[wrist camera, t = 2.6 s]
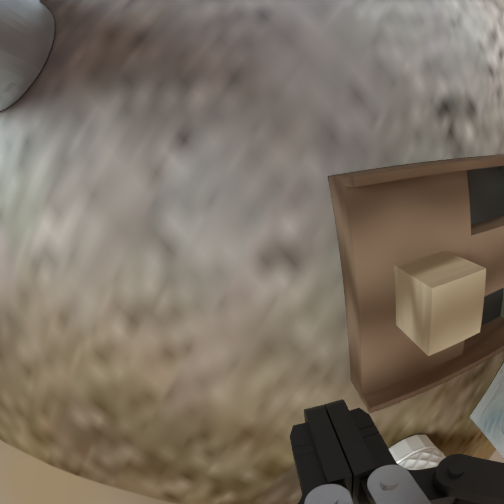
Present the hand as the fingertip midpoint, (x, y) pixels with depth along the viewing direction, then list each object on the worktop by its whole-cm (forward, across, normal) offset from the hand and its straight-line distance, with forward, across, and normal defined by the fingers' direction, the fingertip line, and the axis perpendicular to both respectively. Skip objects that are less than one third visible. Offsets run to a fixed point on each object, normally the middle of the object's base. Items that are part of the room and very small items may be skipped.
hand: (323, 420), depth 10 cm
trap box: (+10, -17, -1) cm, 19 cm away
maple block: (+7, -9, -1) cm, 11 cm away
